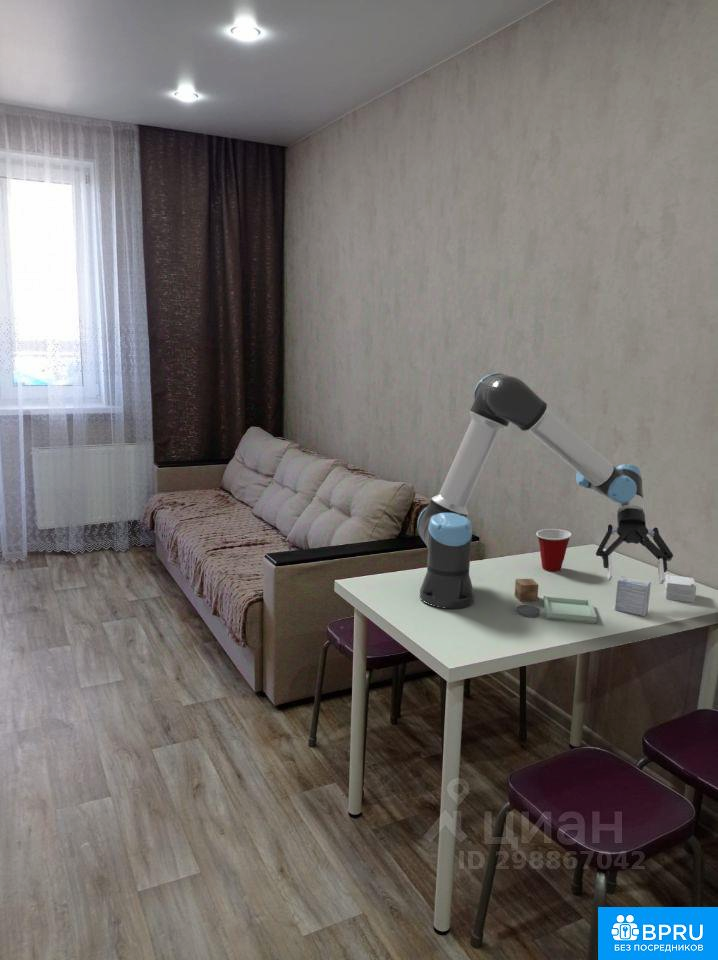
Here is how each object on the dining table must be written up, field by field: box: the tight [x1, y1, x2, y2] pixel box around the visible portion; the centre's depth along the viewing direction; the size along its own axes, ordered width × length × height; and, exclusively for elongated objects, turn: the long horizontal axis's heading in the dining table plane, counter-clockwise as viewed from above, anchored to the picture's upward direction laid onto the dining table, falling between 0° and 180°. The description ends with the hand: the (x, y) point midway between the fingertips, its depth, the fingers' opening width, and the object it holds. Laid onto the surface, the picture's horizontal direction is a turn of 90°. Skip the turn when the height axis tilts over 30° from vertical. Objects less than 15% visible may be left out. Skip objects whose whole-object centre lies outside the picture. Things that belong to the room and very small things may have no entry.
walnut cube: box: [514, 578, 539, 603], centre depth 205 cm, size 5×5×5 cm
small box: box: [663, 574, 697, 603], centre depth 210 cm, size 8×8×5 cm
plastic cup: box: [535, 528, 572, 573], centre depth 231 cm, size 11×11×12 cm
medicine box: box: [614, 576, 651, 617], centre depth 197 cm, size 8×4×9 cm, turn 57°
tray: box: [542, 595, 598, 624], centre depth 196 cm, size 13×13×2 cm
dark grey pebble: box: [516, 604, 540, 618], centre depth 195 cm, size 6×6×2 cm
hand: (636, 580), depth 199 cm, fingers open, 13 cm apart
